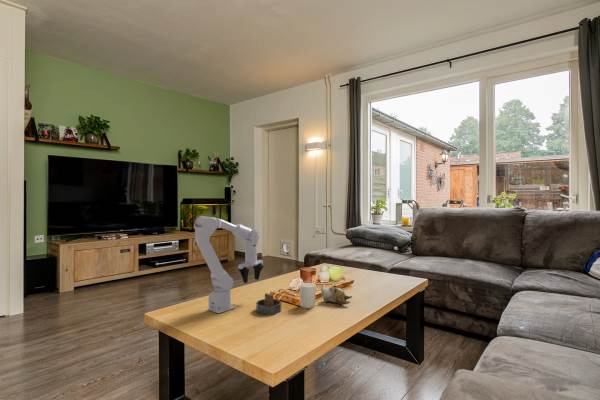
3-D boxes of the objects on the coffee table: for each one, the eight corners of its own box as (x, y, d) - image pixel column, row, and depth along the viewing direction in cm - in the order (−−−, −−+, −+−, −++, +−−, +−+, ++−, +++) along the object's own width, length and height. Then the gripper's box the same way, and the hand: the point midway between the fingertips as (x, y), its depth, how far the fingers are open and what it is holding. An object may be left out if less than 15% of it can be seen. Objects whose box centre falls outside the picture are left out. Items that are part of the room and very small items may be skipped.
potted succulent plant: (323, 280, 169) (353, 284, 164) (322, 297, 169) (352, 302, 165) (318, 286, 159) (349, 291, 154) (317, 304, 159) (348, 309, 155)
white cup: (314, 309, 152) (314, 287, 152) (297, 307, 154) (297, 286, 154) (317, 303, 160) (317, 283, 160) (301, 302, 162) (301, 282, 161)
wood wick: (269, 311, 147) (269, 296, 147) (261, 309, 150) (261, 294, 150) (276, 308, 151) (276, 294, 151) (268, 306, 154) (268, 292, 154)
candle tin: (269, 316, 143) (269, 308, 143) (251, 310, 150) (251, 303, 150) (285, 309, 152) (285, 302, 152) (268, 304, 158) (268, 297, 158)
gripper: (245, 256, 155) (245, 285, 155) (267, 252, 167) (267, 279, 167) (235, 254, 160) (235, 282, 160) (257, 250, 171) (257, 277, 171)
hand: (251, 280), depth 164 cm, fingers open, 7 cm apart
